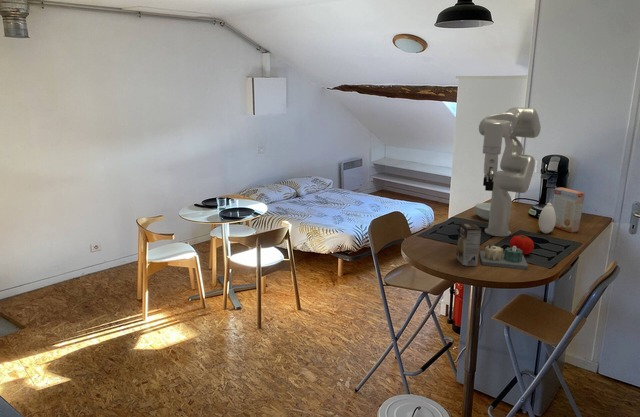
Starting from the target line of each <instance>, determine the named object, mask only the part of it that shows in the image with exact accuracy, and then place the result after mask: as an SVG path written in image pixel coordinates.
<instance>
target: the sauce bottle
mask: <svg viewBox="0 0 640 417" xmlns="http://www.w3.org/2000/svg"><path fill="white" fill-rule="evenodd" d="M551 202H552V200H551V198H550V199H549V202H547V203H546V205H545V206H543V208H542V210H541V212H540V214H539V217H538V226H539V230H540V231H541V232H542V233H543V234H549V233H550V232H552V231H553V230H554V229H555V227H554V226H555V223H556V214H555V210H554V208H553V203H551Z"/></svg>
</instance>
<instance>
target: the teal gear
mask: <svg viewBox="0 0 640 417" xmlns="http://www.w3.org/2000/svg"><path fill="white" fill-rule="evenodd" d="M503 253H504V259H506V260H507V261H513V262H517V261H518V262H521V260H522V256H524V255H523V251H522V250H520V249H519V248H518V249H517V248H516V251H512V248H510V247H506V248H505V249H504V252H503Z"/></svg>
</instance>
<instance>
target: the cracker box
mask: <svg viewBox="0 0 640 417" xmlns="http://www.w3.org/2000/svg"><path fill="white" fill-rule="evenodd" d="M553 192H554V194H553V200H552V206H553V208H554V210H555V214H556V223H555V226H554V228H556V229H559V230H562V231H565V232H567V233H579V230H580V224H581V218H582V212H583V205H584V199H585V192H583V191H579V190H576V189H575V190H574V189H570V188H566V187H560V186H559V187H554V191H553Z"/></svg>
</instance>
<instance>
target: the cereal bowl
mask: <svg viewBox="0 0 640 417" xmlns="http://www.w3.org/2000/svg"><path fill="white" fill-rule="evenodd" d="M490 207H491V202H478V203H475V205H474V212H475V214H476V215H477V216H479V217H480V218H482V219H483V220H485V221H489V216H490Z"/></svg>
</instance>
